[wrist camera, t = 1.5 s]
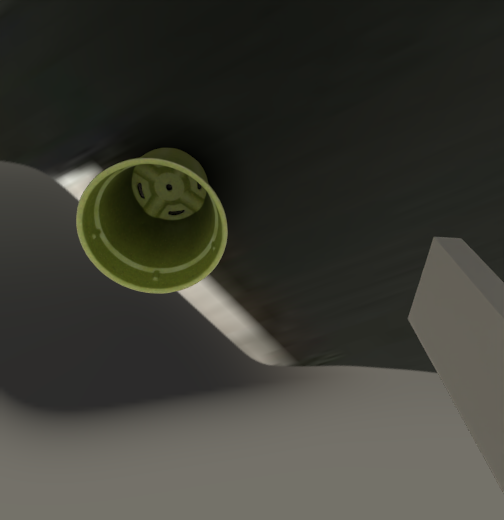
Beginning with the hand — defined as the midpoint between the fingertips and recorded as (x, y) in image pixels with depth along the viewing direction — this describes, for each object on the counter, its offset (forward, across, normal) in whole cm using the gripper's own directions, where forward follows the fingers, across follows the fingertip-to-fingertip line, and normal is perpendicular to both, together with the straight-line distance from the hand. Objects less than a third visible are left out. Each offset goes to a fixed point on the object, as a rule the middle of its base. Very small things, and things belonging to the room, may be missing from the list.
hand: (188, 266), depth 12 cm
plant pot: (+24, -4, -7) cm, 25 cm away
